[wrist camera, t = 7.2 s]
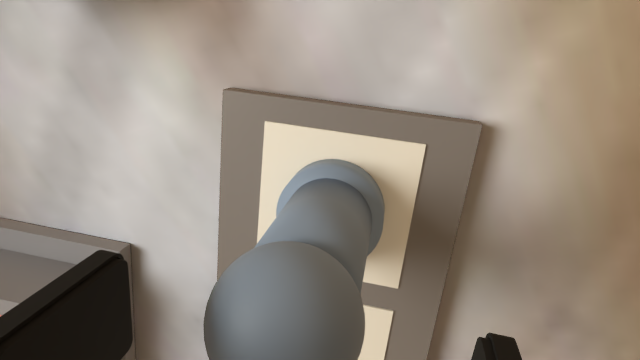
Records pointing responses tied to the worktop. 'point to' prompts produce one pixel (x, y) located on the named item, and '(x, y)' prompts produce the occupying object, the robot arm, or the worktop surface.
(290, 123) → the track board
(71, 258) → the button housing
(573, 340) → the worktop surface
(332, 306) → the pawn
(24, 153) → the worktop surface
